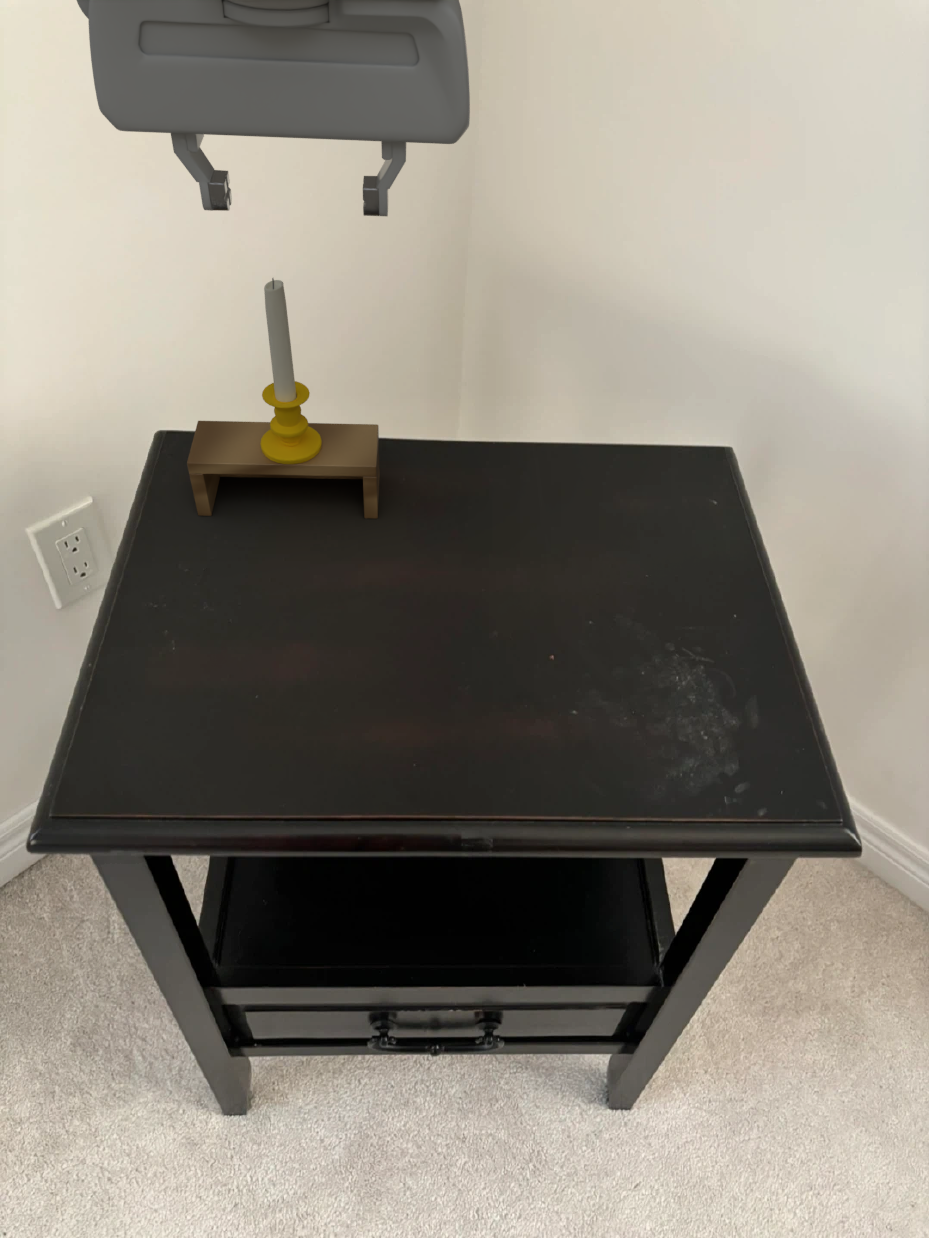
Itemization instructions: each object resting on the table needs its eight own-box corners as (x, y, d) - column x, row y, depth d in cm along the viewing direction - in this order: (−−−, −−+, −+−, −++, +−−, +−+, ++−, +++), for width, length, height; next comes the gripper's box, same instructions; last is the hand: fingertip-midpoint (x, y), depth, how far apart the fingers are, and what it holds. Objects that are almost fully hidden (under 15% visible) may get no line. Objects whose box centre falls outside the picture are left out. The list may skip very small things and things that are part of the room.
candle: (261, 467, 79) (237, 296, 67) (260, 429, 82) (237, 261, 71) (323, 462, 80) (310, 293, 68) (319, 426, 83) (306, 259, 71)
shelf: (198, 516, 83) (186, 462, 79) (208, 473, 87) (197, 420, 83) (377, 518, 84) (376, 466, 80) (379, 476, 88) (378, 424, 84)
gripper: (40, -65, 43) (109, 228, 53) (480, -42, 44) (465, 240, 55) (74, -96, 47) (132, 180, 58) (475, -75, 48) (462, 192, 59)
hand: (297, 209), depth 56 cm, fingers open, 8 cm apart
